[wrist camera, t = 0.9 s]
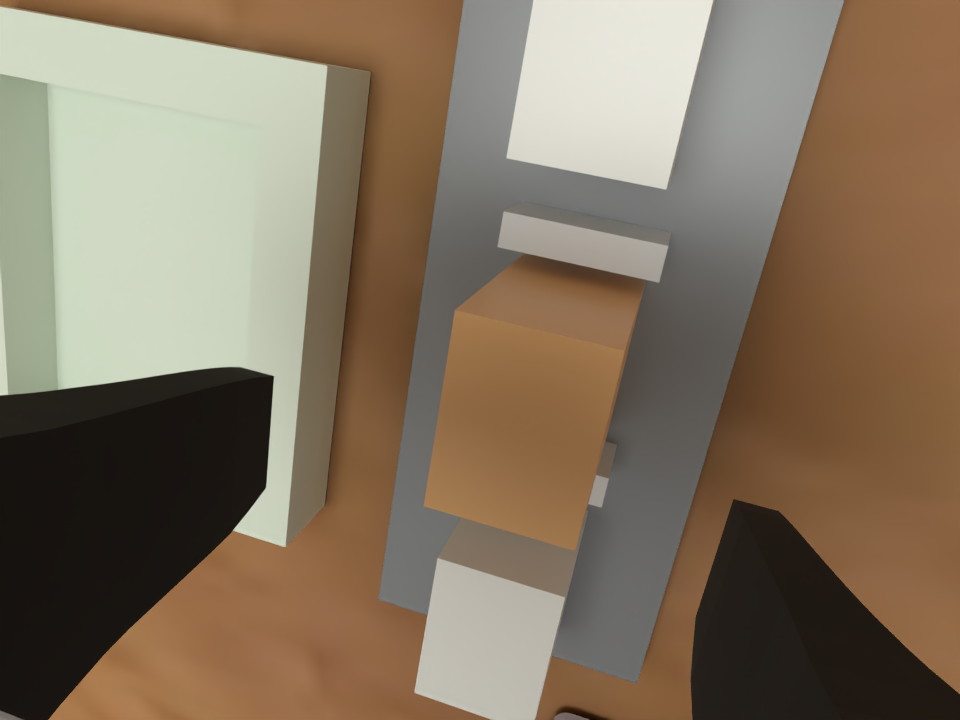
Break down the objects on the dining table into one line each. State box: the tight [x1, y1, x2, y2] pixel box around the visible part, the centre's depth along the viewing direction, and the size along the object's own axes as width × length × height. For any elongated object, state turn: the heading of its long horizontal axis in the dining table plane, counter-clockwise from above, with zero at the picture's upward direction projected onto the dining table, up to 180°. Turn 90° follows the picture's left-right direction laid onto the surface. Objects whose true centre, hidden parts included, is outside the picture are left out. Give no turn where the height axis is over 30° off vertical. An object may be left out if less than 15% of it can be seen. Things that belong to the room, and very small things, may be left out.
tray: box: [0, 5, 371, 547], centre depth 21 cm, size 13×11×2 cm
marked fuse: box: [424, 253, 646, 551], centre depth 16 cm, size 4×3×6 cm
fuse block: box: [378, 0, 844, 720], centre depth 18 cm, size 19×8×5 cm, turn 170°
